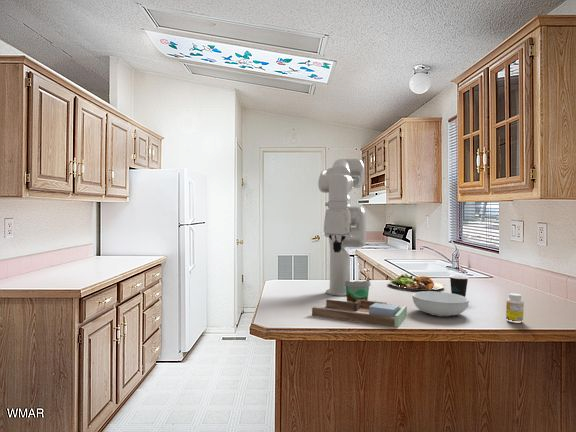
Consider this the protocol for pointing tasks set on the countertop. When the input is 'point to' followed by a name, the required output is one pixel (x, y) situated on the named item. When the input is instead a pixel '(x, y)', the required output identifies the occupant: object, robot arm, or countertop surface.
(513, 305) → the supplement bottle
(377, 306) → the block
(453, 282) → the dixie cup
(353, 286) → the food container
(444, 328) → the countertop surface
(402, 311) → the end wall
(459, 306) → the serving bowl
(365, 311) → the tile
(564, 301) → the countertop surface
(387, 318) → the channel walls
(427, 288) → the plate of food
